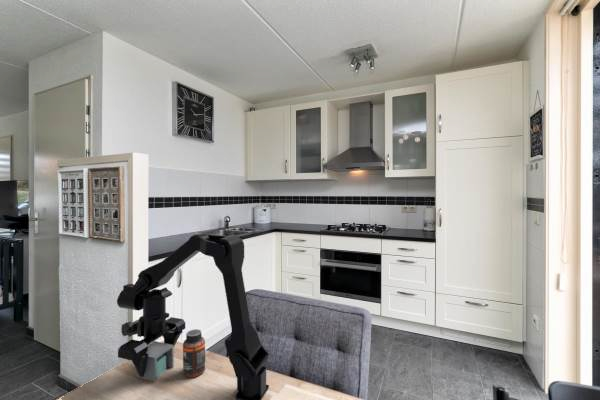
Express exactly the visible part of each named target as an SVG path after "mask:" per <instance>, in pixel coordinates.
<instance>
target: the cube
mask: <svg viewBox="0 0 600 400" xmlns="http://www.w3.org/2000/svg"><path fill="white" fill-rule="evenodd" d="M166 370H167V367H166V356H165V355H161V356H160V357H158V358H157V377H158V376H159V375H161V374H162V373H163V372H165V371H166Z"/></svg>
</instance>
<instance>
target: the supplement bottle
mask: <svg viewBox="0 0 600 400" xmlns="http://www.w3.org/2000/svg"><path fill="white" fill-rule="evenodd" d="M185 338H186V339H185V340H184V341H183V343H182V366H183V367H182V371H183V375H184V376H185V377H187V378H195V377H199V376H201V375H202V374H203V373H204V372H205V371H206V340H205V339H206V338H204V337H203V336H202V330H201V329H195V328H194V329H191V330H188V331H187V332H186V337H185Z"/></svg>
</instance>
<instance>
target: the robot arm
mask: <svg viewBox="0 0 600 400" xmlns="http://www.w3.org/2000/svg"><path fill="white" fill-rule="evenodd" d="M198 253H201V254H203V255H204V256H208V257H212V259H213V261H214V265H215V266H216V267H217V268H218V270H219V271H220V274H222V279H223V284H224V291H225V292H224V293H225V296H226V304H227V310H228V315H229V321H230V327H231V328H230V329H231V332H230V334H229V336H228V337H227V338H225V339H224V346H225V349H226V355H225V356H226V358H228V359H229V362H230V365H232V368H233V371H234V373H235V377H236V389H237V393H236V394H235V395H234V398H235V399H237V400H262V399H263V398H264V397H265V395H266V394H267V392H268V390H269V389H270V388H269V387H270V385H269V384H267V367H266V366H265V364H266V363H267V362H268V360H269V357H270V353H269V352H268V351H267V349H266V348H265V347H264V346H263V345H262V343H261V341H260V338H259V334H258V331H257V330H256V328H254V326H253V325H252V323H251V320H250V317H251V316H250V313H249V306H248V300H247V295H246V288H245V281H244V276H243V269H242V268H243V264H244V259H245V243H244V240H243V238H240V237H239V236H237V235H234V234H233V235H228V236H225V235H218V234H217V235H216V234H209V233H206V232H202V233H197V234H192V235H191V236H190V237H189V239H188V240H187V241H185V242H184V243H183V244H181V245H180V246H179V247H178V248H177V249H175V250H174V251H173V252H172V253H170V254H169V255H168V256H167V257H165V258H164V259H163V260H162V261H160V262H157V263H155V264H154V265H150V266H149V267H146V268H145V269H143V270H141V271H140V272H139V273H138V275H137V277H138V278H137V280H135V283H134V284H133V283H127V284H125V285H123V286H122V289H123V290H121V291H120V293H119V295H118V296H117V299H116V303H117V306H118V307H119V308H121V309H125V310H126V309H127V310H133V311H142V316H140V317H139V318H138V319H136V320H134V321H129V322H124V323H123V324H121V328H120V329H121V335H122V337H126V336H128V337H132V336H135V335H136V336H137V337H138V338H139V337H140V338H141V337H143V339H141V340H137V339H130V340H128V341H127V342H125V343H123V344H122V345H120V346H119V347H118V349H117V358H120V359H124V360H128V361H131V362H132V364H133V365H134V368H135V371H136V370H137V372H138V374H139V376H141V377H143V376H144V374H145V370H146V365H147V360H148V354H147V351H148V345H150V344H151V343H153V342H154V341H157V340H159V339H161V338H163V343H166V344H171V345H174V347H175V346H176V344H177V342H178V340H179V338H180V336H181V335H182V334H183V331H184V330H186V321H185V320H184V318H180V317H179V318H177V317H170V313H169V312H166V311H167V309H166V307H167V304H166V303H167V302H166V299H167V298H169V297H171V296H172V295H173V293H172V291H171V290H169V289H168V288H167V287H164V288H162V289H158V288H160V287H162V286H164V285H166V284H168V283H169V282H170V280H171V279H172V278H173V277H174V275H175V273H176V271H177V270H178V269H179V268H181V267H182V266H183V265H184V264H185V263H187V262H188V261H189V260H191V259H192V258H194V257H195V256H196V255H197V254H198Z"/></svg>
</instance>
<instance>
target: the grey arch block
mask: <svg viewBox="0 0 600 400" xmlns="http://www.w3.org/2000/svg"><path fill="white" fill-rule="evenodd" d="M174 347H175V346H174V345H171V344H166V343H164V342H160V341H157V340H155V341H154V342H152V343H151V344H149V345H148V351H147V354H148V360H147V365H146V370H145V374H144V376H143V377H141V376H139V374H138V372H137V370H136V369H135V377H136V378H138V379H142V380H143V379H144V380H147V381H151V382H154V383H156V382H157V380H158V376H157V358H158V357H160V356H161V355H165V356H166V368H170V369H173V368H174V366H175V365H174V364H175V360H174V357H175V356H174V352H175V351H174V350H175V349H174Z"/></svg>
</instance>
